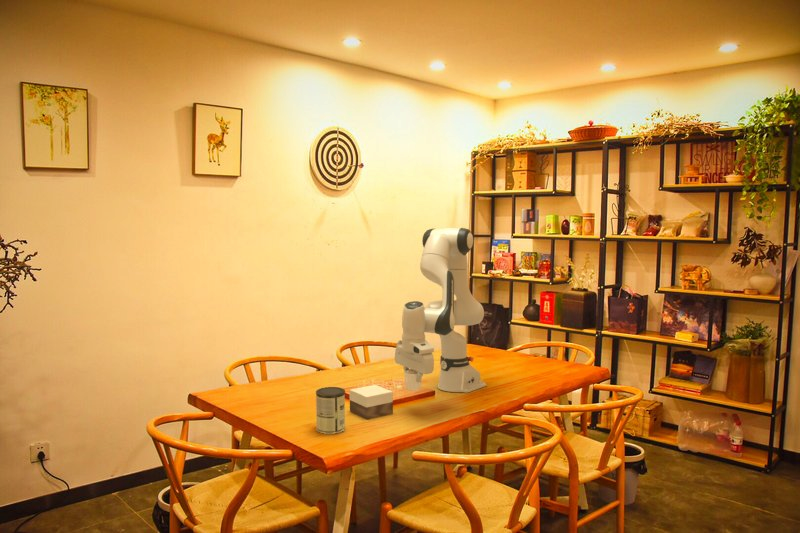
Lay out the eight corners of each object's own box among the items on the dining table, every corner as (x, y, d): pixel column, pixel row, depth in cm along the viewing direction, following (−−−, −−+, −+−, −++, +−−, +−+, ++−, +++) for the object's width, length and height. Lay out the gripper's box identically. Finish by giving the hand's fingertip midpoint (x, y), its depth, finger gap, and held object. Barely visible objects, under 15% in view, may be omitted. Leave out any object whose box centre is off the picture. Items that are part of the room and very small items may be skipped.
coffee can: (318, 424, 226) (318, 386, 225) (346, 424, 226) (346, 386, 225) (313, 434, 216) (313, 394, 215) (343, 434, 216) (342, 395, 214)
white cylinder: (412, 385, 243) (412, 367, 242) (425, 388, 238) (425, 370, 237) (400, 389, 238) (400, 371, 237) (414, 392, 233) (414, 374, 232)
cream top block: (375, 394, 248) (375, 384, 247) (392, 401, 238) (392, 391, 238) (349, 399, 241) (349, 389, 240) (366, 407, 231) (366, 397, 231)
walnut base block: (375, 406, 248) (375, 394, 248) (392, 414, 239) (392, 401, 238) (349, 412, 241) (349, 399, 241) (366, 420, 231) (366, 407, 231)
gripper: (390, 340, 242) (390, 374, 244) (423, 351, 226) (423, 388, 228) (403, 338, 246) (403, 372, 248) (436, 348, 230) (436, 384, 231)
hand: (413, 379), depth 237 cm, fingers closed on white cylinder, 5 cm apart
